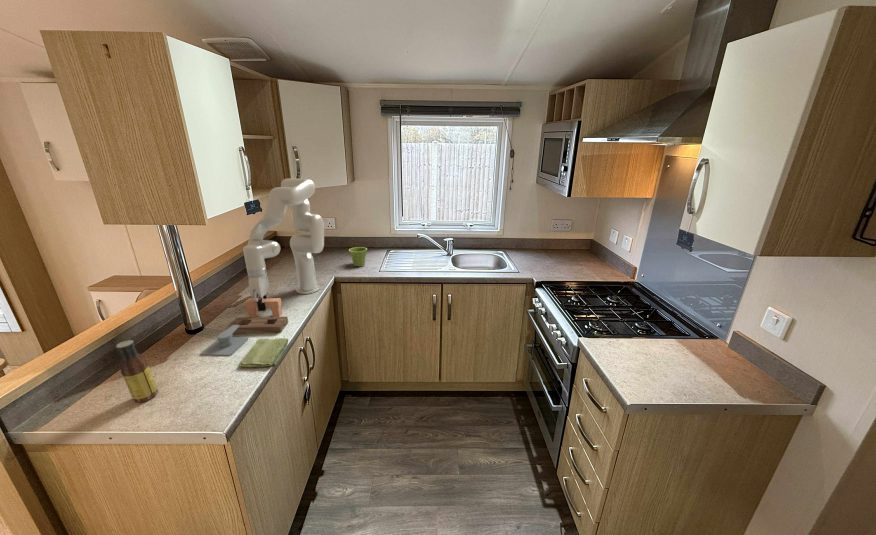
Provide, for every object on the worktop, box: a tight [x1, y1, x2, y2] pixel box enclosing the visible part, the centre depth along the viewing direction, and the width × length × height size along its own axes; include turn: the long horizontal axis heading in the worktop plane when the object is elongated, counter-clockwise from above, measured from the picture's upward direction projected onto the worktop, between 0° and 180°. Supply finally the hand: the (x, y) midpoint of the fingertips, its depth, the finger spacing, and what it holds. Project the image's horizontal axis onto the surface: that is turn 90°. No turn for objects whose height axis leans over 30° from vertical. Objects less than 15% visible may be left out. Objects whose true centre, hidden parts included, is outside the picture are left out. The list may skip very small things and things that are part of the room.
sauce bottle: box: [115, 339, 159, 403], centre depth 103 cm, size 7×6×20 cm
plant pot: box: [348, 246, 368, 267], centre depth 224 cm, size 12×12×11 cm
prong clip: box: [243, 297, 283, 318], centre depth 156 cm, size 4×15×8 cm, turn 94°
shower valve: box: [200, 325, 250, 357], centre depth 134 cm, size 12×6×15 cm
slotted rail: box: [225, 316, 289, 335], centre depth 146 cm, size 9×22×3 cm, turn 94°
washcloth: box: [238, 337, 289, 369], centre depth 127 cm, size 13×18×3 cm
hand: (264, 308), depth 157 cm, fingers closed on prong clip, 3 cm apart
